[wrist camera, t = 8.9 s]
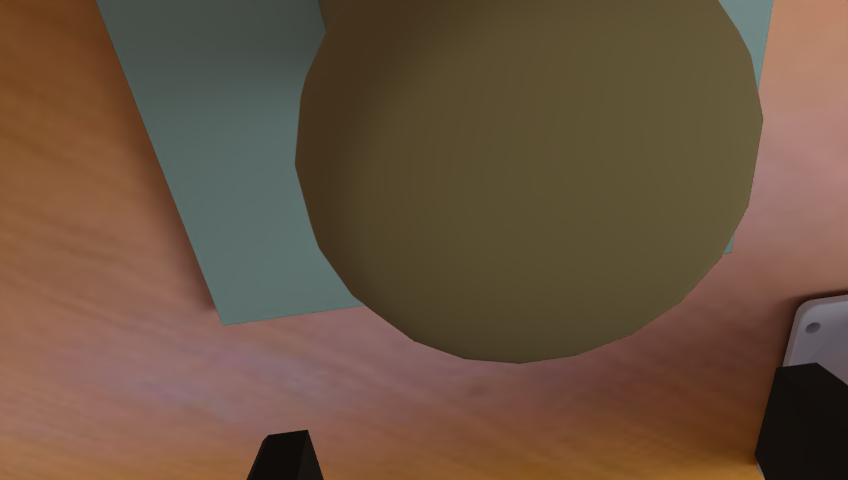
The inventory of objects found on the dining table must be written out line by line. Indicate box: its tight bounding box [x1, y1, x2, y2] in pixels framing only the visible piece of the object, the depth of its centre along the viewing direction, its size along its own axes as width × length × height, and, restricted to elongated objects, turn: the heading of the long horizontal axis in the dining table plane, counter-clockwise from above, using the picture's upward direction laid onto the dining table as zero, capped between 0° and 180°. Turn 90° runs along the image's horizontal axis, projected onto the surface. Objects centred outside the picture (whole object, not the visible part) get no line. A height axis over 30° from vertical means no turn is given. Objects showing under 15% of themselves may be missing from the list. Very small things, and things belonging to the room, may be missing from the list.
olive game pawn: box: [295, 0, 763, 364], centre depth 11 cm, size 6×6×11 cm
